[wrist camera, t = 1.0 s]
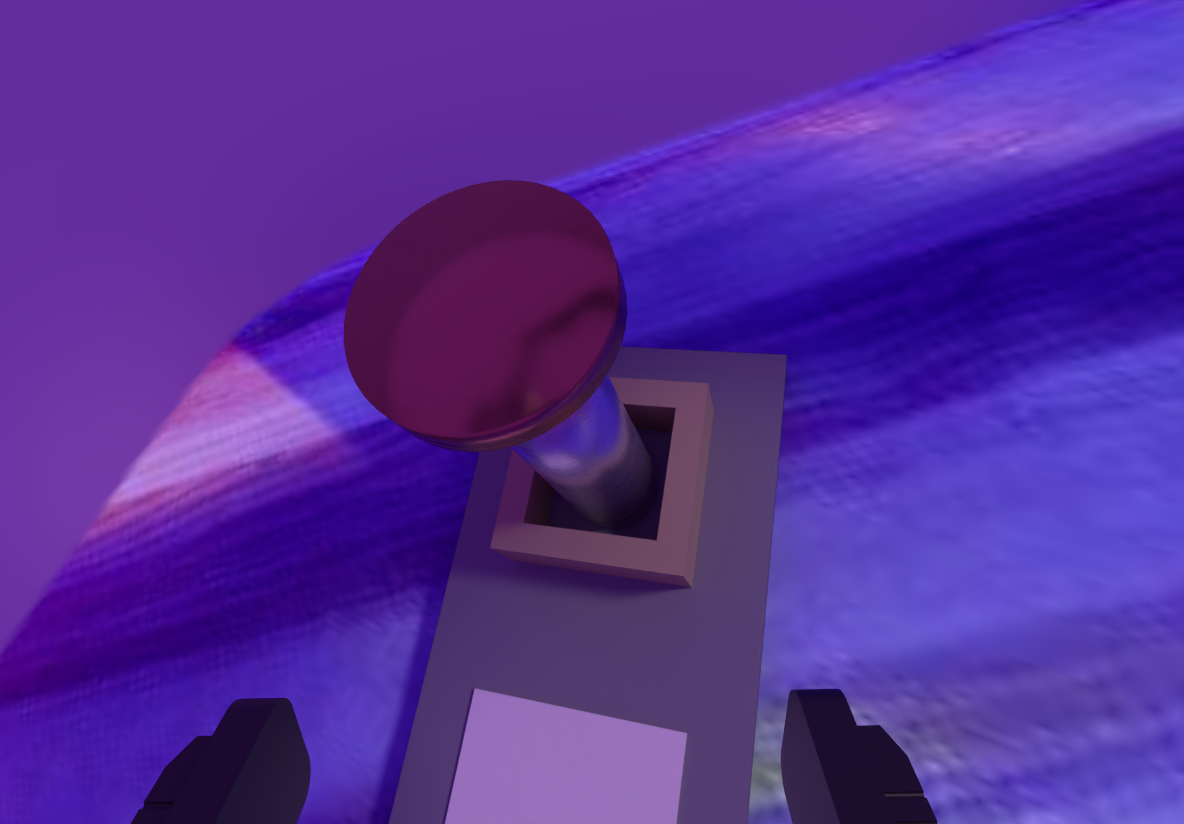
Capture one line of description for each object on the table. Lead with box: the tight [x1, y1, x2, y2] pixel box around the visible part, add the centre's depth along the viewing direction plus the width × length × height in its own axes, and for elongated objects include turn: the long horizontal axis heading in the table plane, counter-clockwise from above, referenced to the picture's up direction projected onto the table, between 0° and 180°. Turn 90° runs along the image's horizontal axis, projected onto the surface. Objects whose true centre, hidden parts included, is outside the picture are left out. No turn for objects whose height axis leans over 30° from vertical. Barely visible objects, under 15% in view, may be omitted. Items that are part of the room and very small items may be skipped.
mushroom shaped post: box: [344, 180, 659, 529], centre depth 24 cm, size 7×7×16 cm
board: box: [389, 347, 787, 824], centre depth 28 cm, size 28×14×4 cm, turn 170°
